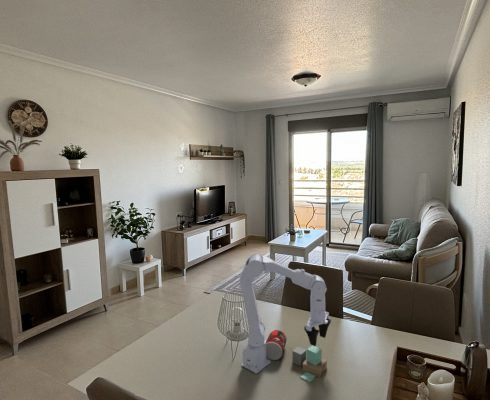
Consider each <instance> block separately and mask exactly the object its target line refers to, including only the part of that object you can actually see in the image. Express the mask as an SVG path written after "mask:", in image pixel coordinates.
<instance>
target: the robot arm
mask: <svg viewBox="0 0 490 400" xmlns="http://www.w3.org/2000/svg"><path fill="white" fill-rule="evenodd" d="M272 272H273V273H276V274H278V275H281V276H283V277H285V278H288V279H290V280H291V282H292V283H293V284H295V285H297V286H298V287H299V286H300V287H302V288H304V289H306V290H310V295H309V296H310V297H309V298H310V299H309V301H310V307H309V308H310V312H309V313H310V316H309V318H308V321H307V324H305V326H304V331H305V333H306V335H307V337H308V341H309V344H310V345H311V346H312V345H313V346H316V347H317V339H318V336H319V337H321V338H324V339H325V338H326V336H327V332H328V330H329V327H330V324H331V323H332V320H331V319H329V317H330V312H328V311H326V292H327V291H328V288H327V285H326V283H325V280H324V279H323V278H322V277H321V276H319V275H317V274H311V273H309V272H306V270H305V269H303V268H301V269H300V268H297V269H292V268H289V267H288V266H286V265H283V264H281V263H279V262H277V261H275V260H273V259H271V258H270V257H267V256H266V255H265V256H264V255H261V254H259V253H254V254H252V255H250V256H249V257H248V258H247V260H246V261H245V265H244V267H243V269H242V271H241V273H240V276H239V285H240V289H241V294H242V299H243V303H244V308H245V313H246V314H245V315H246V318H247V322H248V332H249V333H248V339H247V345H246V346H245V348H243V351H242V363H241V366H242V367H243V368H246V369H248V370H249V371H251V372H253V373H254V374H258V373H259V372H261V371H262V370H263V369H265V368H266V367H267V366H268V365H269V364H271V362H272V360H270V359H268V358H267V357H266V341H267V339H266V338H265V332H266V327H265V325H264V323H263V321H262V319H261V317H260V314H259V308H258V303H257V299H256V294H255V291H254V283H253V281H255V279H256V278H258V277H260V276H261V275H262V274H263V273H264V275H266V274H268V273H272ZM317 326H318V329H316V327H317Z"/></svg>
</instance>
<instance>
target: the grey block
mask: <svg viewBox="0 0 490 400" xmlns="http://www.w3.org/2000/svg"><path fill="white" fill-rule="evenodd" d="M291 354H292V355H291V356H292V360H291V361H292V363H293V364H295V365H298V366H299V367H303V362H304V361H305V360H306V359H307V349H305V348H303V347H301V346H296V348H293V350H292V353H291Z"/></svg>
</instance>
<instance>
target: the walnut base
mask: <svg viewBox="0 0 490 400" xmlns="http://www.w3.org/2000/svg"><path fill="white" fill-rule="evenodd" d="M327 363H328V361H327V359H325V358H322V361H321V362H320V363H319V364H317V365H316V366H315V365H313V364H311V363H309V362H308V361H307V358H306V360H305V361H304V362H303V365H302V372H304V373H305V372H308V373H310V374H313V375H315V377H317V378H321V377H322V376H323V374H324V372H325V371H326V369H327Z"/></svg>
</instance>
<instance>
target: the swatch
mask: <svg viewBox="0 0 490 400" xmlns="http://www.w3.org/2000/svg"><path fill="white" fill-rule="evenodd" d="M315 378H316V376H315V375H313V374H310V373H308V372H304V373H303V374H302V375H301V376H300V379H302V380H304V381H306V382H309V383H311V382H312V381H313V380H314V379H315Z"/></svg>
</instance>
